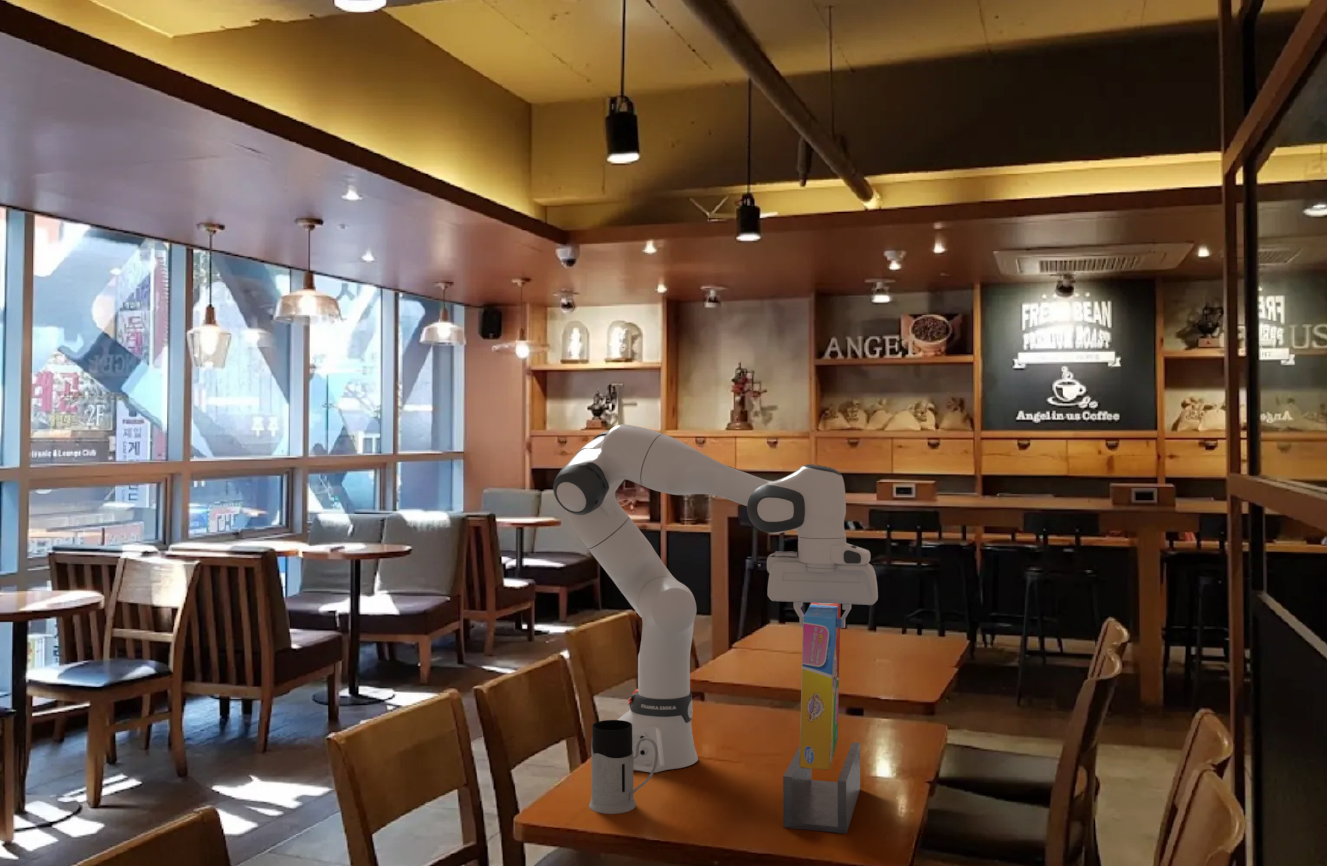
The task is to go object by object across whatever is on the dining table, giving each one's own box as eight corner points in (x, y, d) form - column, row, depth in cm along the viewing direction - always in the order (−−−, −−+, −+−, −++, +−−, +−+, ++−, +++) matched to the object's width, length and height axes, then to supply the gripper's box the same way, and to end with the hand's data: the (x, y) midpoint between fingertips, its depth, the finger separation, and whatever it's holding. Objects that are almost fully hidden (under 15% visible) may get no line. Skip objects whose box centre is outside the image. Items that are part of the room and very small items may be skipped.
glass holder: (606, 794, 203) (605, 716, 203) (669, 807, 195) (669, 726, 196) (579, 808, 195) (579, 727, 195) (644, 822, 188) (644, 738, 188)
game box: (830, 772, 185) (833, 617, 185) (798, 769, 186) (802, 615, 186) (837, 738, 205) (841, 599, 205) (809, 736, 206) (812, 597, 206)
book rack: (783, 827, 185) (783, 776, 185) (803, 784, 208) (803, 738, 208) (846, 833, 182) (846, 781, 182) (860, 789, 205) (859, 742, 205)
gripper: (763, 552, 195) (763, 627, 195) (875, 555, 190) (876, 632, 190) (769, 549, 201) (770, 621, 201) (878, 551, 196) (878, 626, 196)
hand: (822, 626), depth 195 cm, fingers closed on game box, 5 cm apart
